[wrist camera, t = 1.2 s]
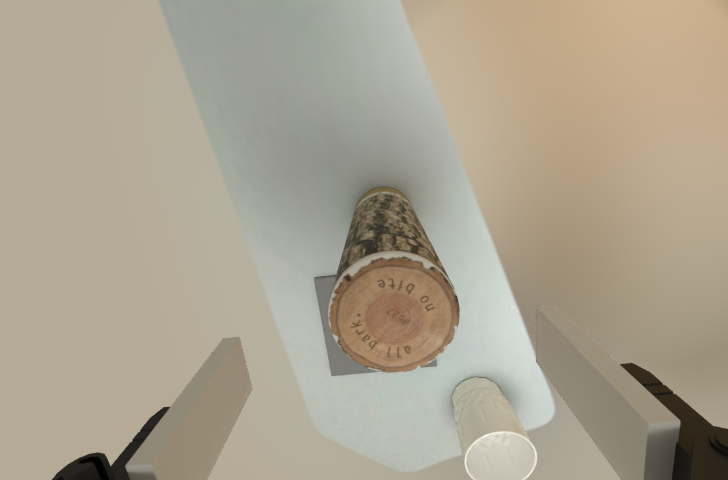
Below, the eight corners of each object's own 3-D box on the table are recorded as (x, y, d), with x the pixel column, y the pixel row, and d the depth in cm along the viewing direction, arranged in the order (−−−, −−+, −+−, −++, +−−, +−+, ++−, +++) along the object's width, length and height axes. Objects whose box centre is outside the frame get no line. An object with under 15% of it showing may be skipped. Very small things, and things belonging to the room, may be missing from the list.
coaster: (314, 277, 45) (313, 281, 44) (427, 264, 44) (428, 268, 43) (332, 373, 49) (331, 379, 48) (436, 363, 48) (437, 368, 47)
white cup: (496, 365, 48) (526, 422, 38) (512, 411, 50) (545, 477, 40) (439, 383, 49) (455, 443, 39) (457, 427, 51) (476, 496, 41)
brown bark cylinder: (386, 253, 44) (399, 394, 20) (343, 218, 43) (301, 322, 19) (424, 211, 42) (488, 310, 18) (380, 173, 41) (387, 225, 17)
